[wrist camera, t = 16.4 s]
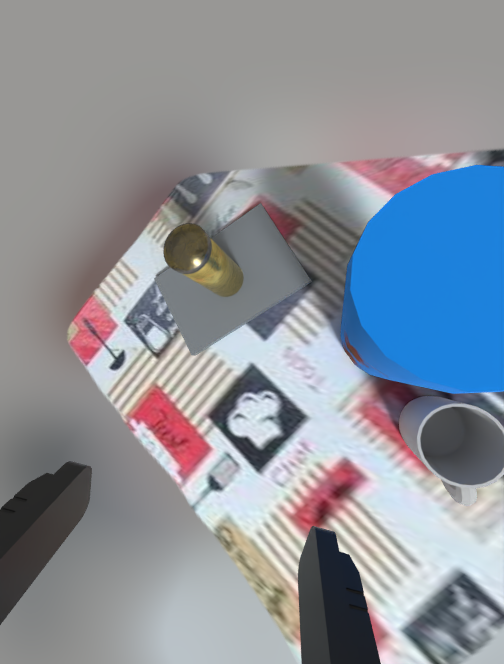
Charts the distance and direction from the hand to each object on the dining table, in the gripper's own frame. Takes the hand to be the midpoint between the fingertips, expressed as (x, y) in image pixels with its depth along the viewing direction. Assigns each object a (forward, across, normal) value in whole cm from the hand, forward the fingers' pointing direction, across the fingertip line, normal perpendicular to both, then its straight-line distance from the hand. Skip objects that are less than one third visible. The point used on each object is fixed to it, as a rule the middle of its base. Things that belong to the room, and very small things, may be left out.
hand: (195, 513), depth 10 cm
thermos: (+29, -16, -2) cm, 33 cm away
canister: (+35, +6, -4) cm, 35 cm away
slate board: (+36, +6, -4) cm, 36 cm away
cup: (+24, -23, +7) cm, 34 cm away
